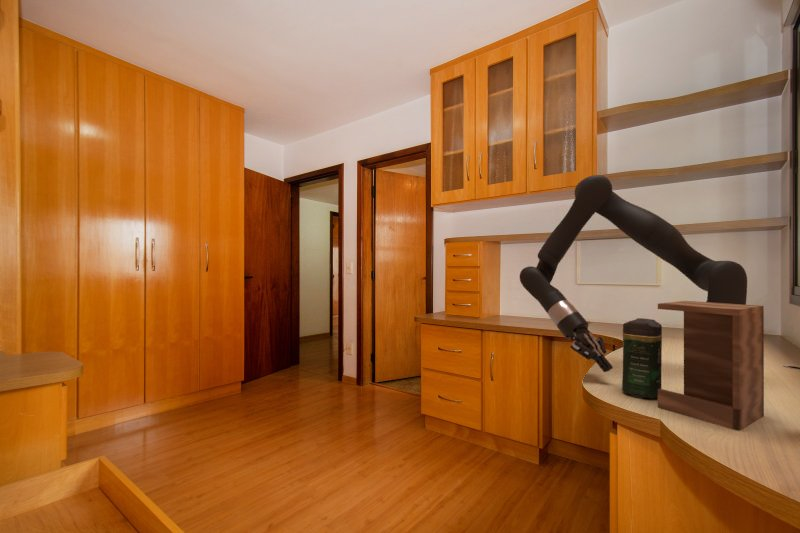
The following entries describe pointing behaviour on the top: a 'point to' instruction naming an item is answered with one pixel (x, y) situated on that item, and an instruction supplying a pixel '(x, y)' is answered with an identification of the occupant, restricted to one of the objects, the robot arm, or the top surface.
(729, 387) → the walnut cubby
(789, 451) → the top surface
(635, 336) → the coffee jar
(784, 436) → the top surface
